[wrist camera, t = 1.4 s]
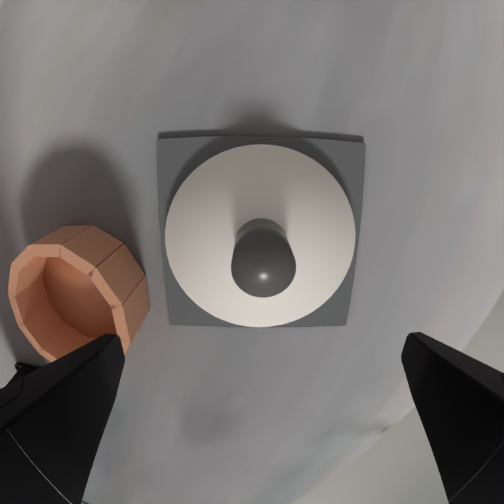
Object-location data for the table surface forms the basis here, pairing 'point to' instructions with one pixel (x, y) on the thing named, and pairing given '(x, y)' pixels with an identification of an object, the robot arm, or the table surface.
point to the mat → (203, 148)
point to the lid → (260, 235)
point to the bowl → (77, 290)
